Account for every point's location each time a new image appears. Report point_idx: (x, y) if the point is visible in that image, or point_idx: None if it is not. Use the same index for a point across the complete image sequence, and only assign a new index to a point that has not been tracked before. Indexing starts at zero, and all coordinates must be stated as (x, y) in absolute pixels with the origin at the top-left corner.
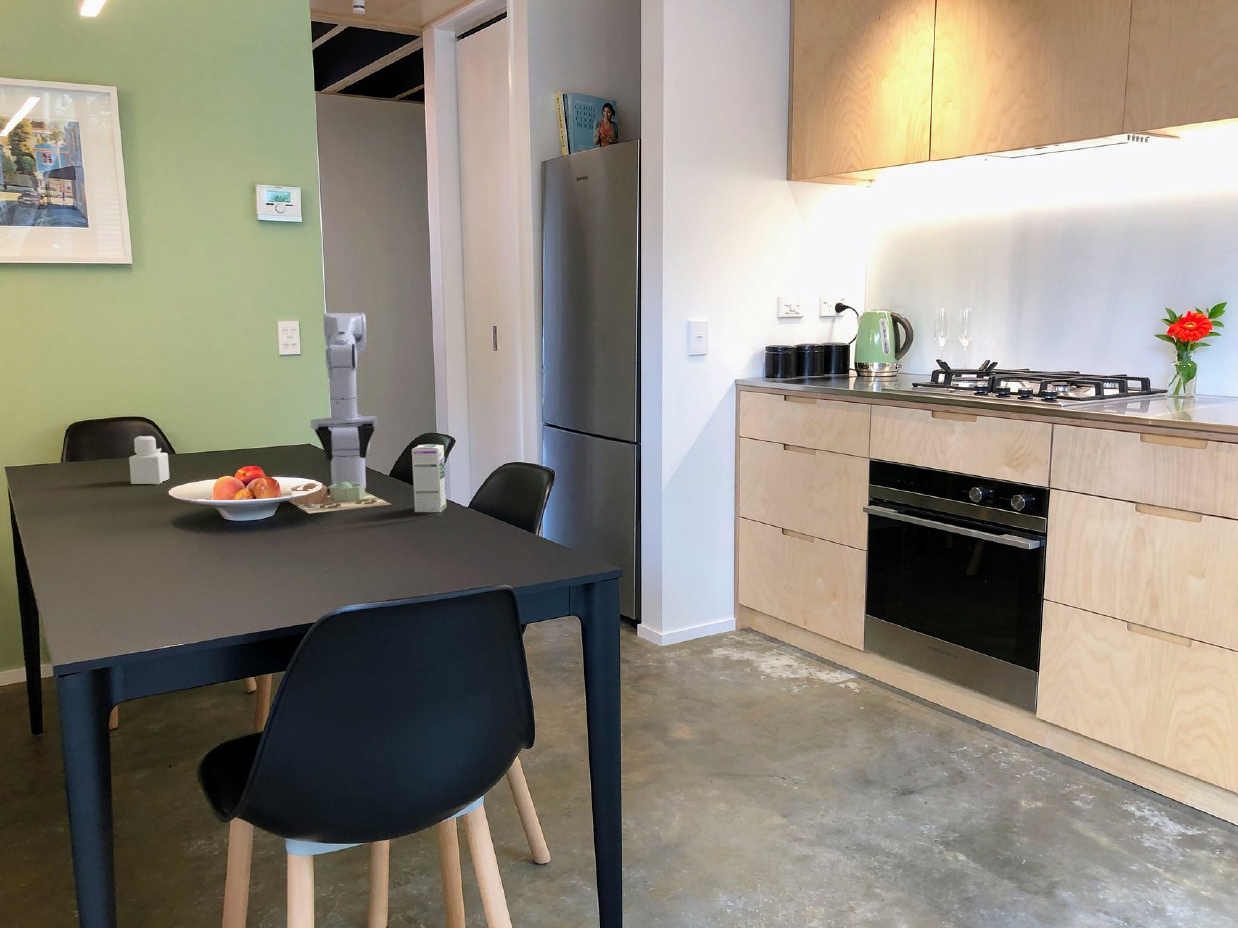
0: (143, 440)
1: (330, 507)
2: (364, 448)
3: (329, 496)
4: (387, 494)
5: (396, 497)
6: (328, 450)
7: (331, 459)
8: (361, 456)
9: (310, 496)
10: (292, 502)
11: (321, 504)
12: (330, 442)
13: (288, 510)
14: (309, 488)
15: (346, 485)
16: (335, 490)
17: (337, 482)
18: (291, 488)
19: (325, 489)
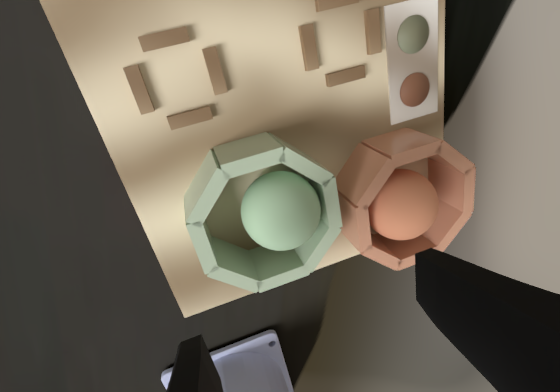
0: None
1: None
2: None
3: None
4: (93, 317)
5: (42, 252)
6: (499, 278)
7: (423, 254)
8: (211, 361)
9: (412, 136)
10: None
11: (364, 98)
12: (557, 325)
13: (459, 93)
14: (424, 182)
15: (278, 195)
16: (323, 167)
17: (284, 385)
18: (473, 205)
19: (359, 190)
